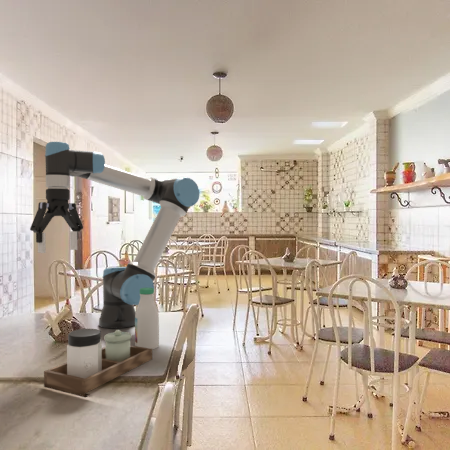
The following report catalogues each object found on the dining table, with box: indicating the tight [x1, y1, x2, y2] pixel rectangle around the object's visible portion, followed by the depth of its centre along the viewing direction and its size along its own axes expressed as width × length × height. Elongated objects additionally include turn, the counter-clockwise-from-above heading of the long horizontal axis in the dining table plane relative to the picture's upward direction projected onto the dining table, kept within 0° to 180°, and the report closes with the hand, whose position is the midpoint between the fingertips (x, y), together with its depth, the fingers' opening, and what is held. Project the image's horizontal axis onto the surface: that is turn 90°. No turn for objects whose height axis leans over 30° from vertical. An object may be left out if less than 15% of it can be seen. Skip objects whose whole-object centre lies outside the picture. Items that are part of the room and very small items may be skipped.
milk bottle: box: [134, 288, 160, 350], centre depth 138 cm, size 8×8×20 cm
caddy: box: [43, 344, 153, 398], centre depth 117 cm, size 27×14×4 cm, turn 154°
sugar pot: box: [103, 329, 132, 362], centre depth 123 cm, size 8×8×10 cm
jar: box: [66, 328, 103, 378], centre depth 111 cm, size 9×8×12 cm
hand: (58, 251), depth 143 cm, fingers open, 13 cm apart
